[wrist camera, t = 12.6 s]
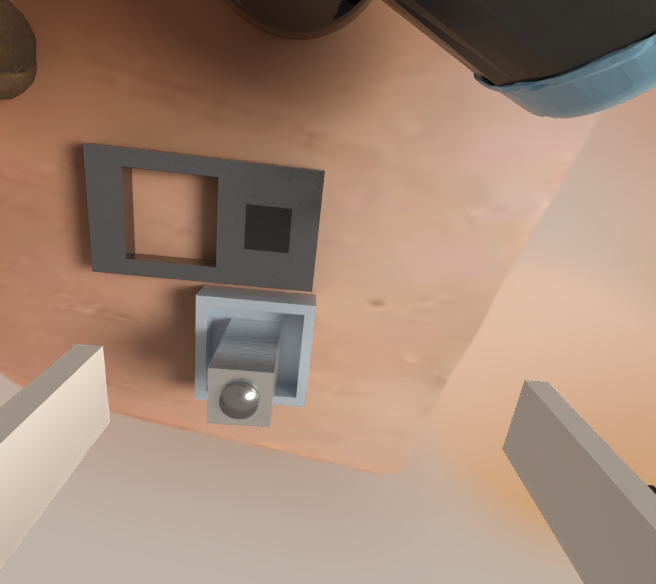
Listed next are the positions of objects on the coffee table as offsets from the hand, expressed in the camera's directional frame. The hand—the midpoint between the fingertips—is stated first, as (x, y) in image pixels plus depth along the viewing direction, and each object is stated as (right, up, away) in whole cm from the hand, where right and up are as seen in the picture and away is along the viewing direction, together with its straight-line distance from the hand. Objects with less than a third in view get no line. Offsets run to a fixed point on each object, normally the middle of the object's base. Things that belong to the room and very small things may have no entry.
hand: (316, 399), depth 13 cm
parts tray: (-7, -2, +29) cm, 30 cm away
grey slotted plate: (-11, +10, +25) cm, 29 cm away
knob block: (-7, -2, +28) cm, 29 cm away
